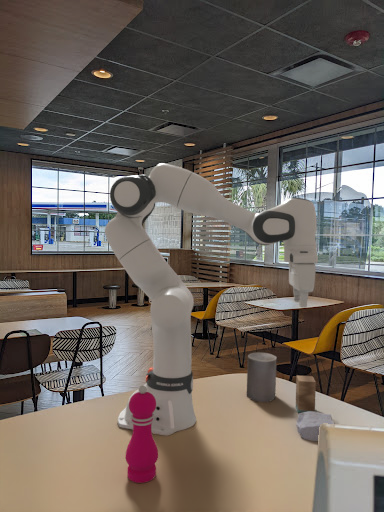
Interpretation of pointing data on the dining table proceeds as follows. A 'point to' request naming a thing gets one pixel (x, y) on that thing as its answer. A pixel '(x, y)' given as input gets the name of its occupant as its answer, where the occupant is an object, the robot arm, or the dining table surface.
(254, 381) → the pillar candle
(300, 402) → the walnut block
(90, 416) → the dining table surface
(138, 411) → the pepper mill
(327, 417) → the stone block
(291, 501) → the dining table surface
